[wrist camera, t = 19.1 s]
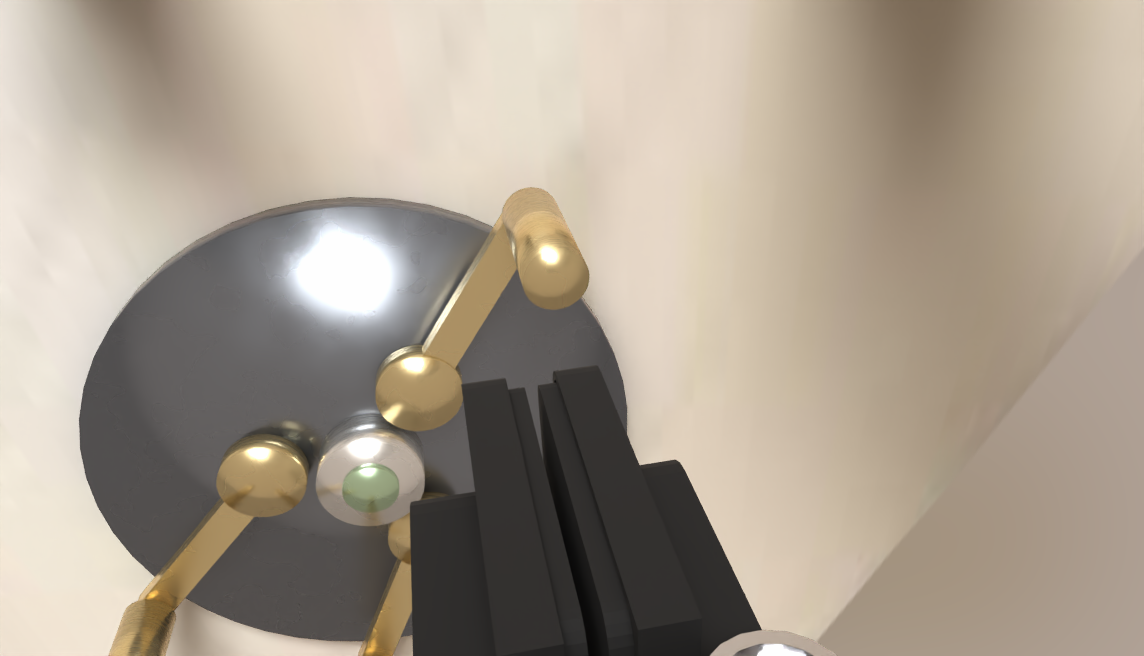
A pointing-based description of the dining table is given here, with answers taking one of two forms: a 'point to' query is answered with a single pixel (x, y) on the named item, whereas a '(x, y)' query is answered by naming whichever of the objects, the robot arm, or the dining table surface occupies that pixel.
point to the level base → (303, 397)
